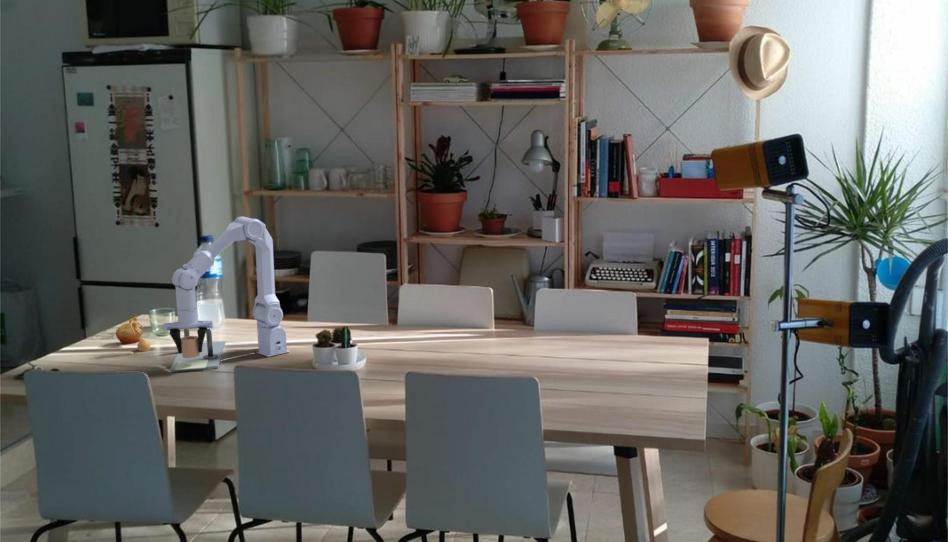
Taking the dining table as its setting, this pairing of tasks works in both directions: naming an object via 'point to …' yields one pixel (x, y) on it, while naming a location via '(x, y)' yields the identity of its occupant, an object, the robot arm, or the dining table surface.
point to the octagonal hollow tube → (189, 346)
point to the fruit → (127, 334)
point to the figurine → (142, 344)
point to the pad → (191, 364)
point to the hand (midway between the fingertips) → (190, 352)
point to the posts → (209, 344)
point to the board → (211, 364)
